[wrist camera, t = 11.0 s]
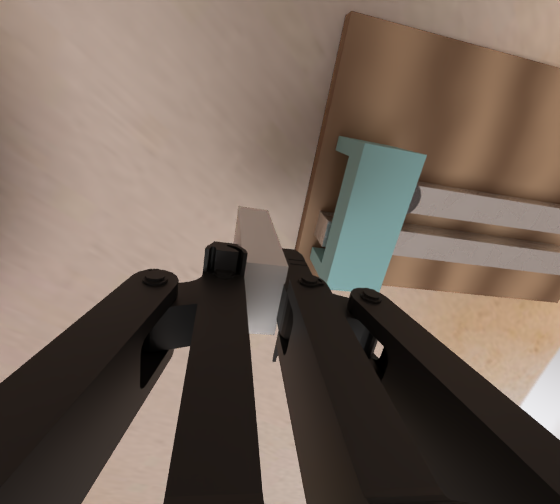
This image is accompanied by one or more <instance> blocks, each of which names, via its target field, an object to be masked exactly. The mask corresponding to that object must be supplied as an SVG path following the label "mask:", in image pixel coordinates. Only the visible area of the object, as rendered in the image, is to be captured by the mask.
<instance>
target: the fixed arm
mask: <svg viewBox="0 0 560 504" xmlns="http://www.w3.org/2000/svg"><path fill="white" fill-rule="evenodd" d="M333 217H334V213H331V212H324V211H320V212H319V216H318V221H317V225H316V229H315V233H314V235H315V236H316V238H317V240H318V241H319V243H320V244H321V246H322V247H326V244H327V240H328V236H329V232H330V228H331V224H332V220H333ZM392 255H396V256H405V257H413V258H421V259H429V260H438V261H446V262H454V263H463V264H471V265H479V266H488V267H496V268H504V269H512V270H521V271H529V272H537V273H546V274H554V275H560V246H558V245H555V244H548V243H541V242H534V241H527V240H520V239H513V238H506V237H499V236H492V235H485V234H478V233H471V232H464V231H457V230H450V229H443V228H436V227H429V226H422V225H415V224H408V223H403V225H402V228H401V231H400V234H399V237H398V240H397V243H396V245H395V248H394V251H393V254H392Z"/></svg>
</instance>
